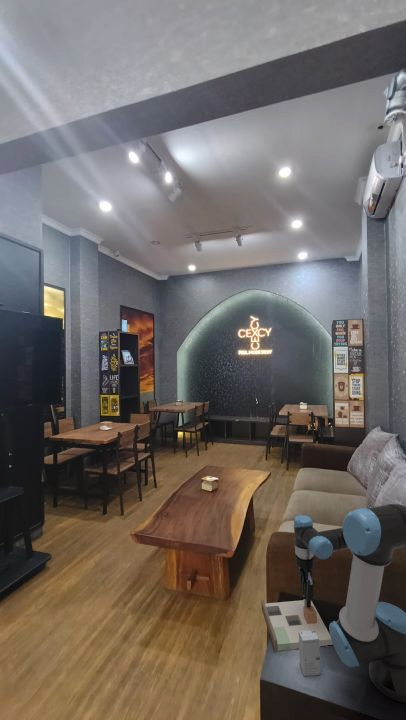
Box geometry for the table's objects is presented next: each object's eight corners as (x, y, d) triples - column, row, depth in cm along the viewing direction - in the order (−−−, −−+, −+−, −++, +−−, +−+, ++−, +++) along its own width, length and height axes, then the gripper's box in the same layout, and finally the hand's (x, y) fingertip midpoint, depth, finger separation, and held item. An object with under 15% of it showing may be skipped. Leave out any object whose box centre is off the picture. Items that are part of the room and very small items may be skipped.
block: (317, 623, 138) (316, 612, 138) (307, 623, 138) (306, 613, 138) (313, 615, 142) (312, 605, 142) (303, 616, 142) (303, 606, 142)
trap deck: (332, 645, 130) (332, 635, 130) (275, 651, 128) (274, 640, 128) (310, 605, 152) (310, 596, 152) (261, 609, 150) (261, 600, 150)
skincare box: (304, 677, 117) (302, 641, 118) (299, 665, 122) (297, 631, 122) (321, 674, 118) (319, 639, 118) (316, 663, 122) (314, 629, 123)
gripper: (319, 563, 137) (323, 623, 136) (308, 546, 150) (311, 601, 149) (301, 564, 136) (304, 625, 136) (291, 547, 149) (294, 602, 149)
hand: (307, 612), depth 143 cm, fingers closed
